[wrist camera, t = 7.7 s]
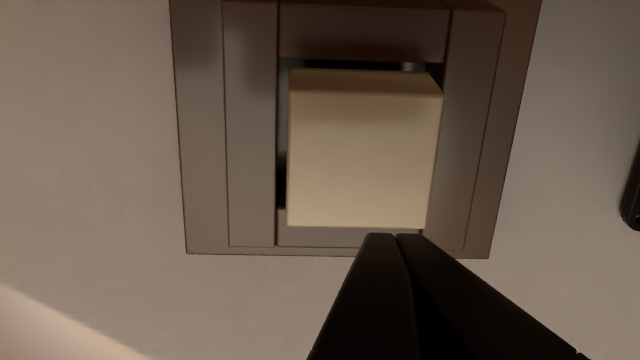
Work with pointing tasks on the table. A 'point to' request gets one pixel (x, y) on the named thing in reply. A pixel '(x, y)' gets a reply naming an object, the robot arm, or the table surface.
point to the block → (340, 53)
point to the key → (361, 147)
